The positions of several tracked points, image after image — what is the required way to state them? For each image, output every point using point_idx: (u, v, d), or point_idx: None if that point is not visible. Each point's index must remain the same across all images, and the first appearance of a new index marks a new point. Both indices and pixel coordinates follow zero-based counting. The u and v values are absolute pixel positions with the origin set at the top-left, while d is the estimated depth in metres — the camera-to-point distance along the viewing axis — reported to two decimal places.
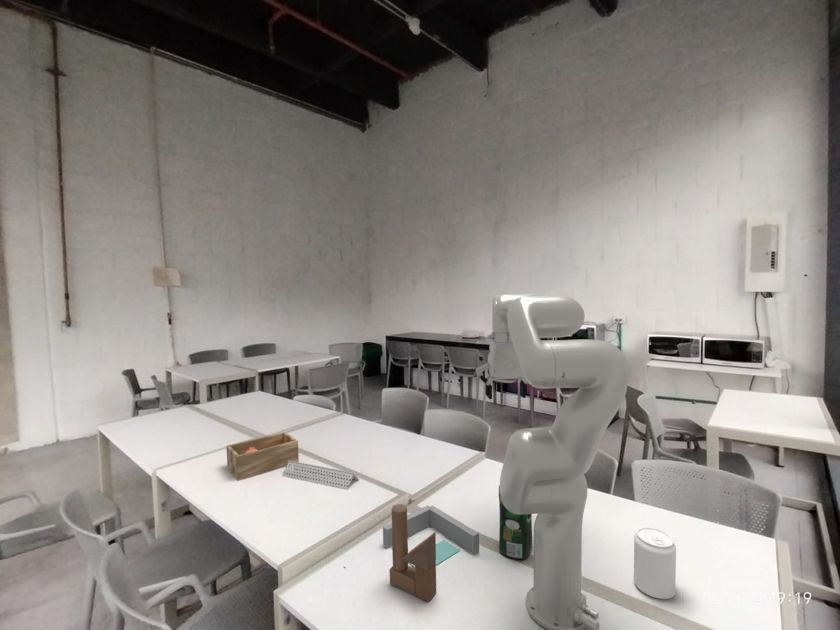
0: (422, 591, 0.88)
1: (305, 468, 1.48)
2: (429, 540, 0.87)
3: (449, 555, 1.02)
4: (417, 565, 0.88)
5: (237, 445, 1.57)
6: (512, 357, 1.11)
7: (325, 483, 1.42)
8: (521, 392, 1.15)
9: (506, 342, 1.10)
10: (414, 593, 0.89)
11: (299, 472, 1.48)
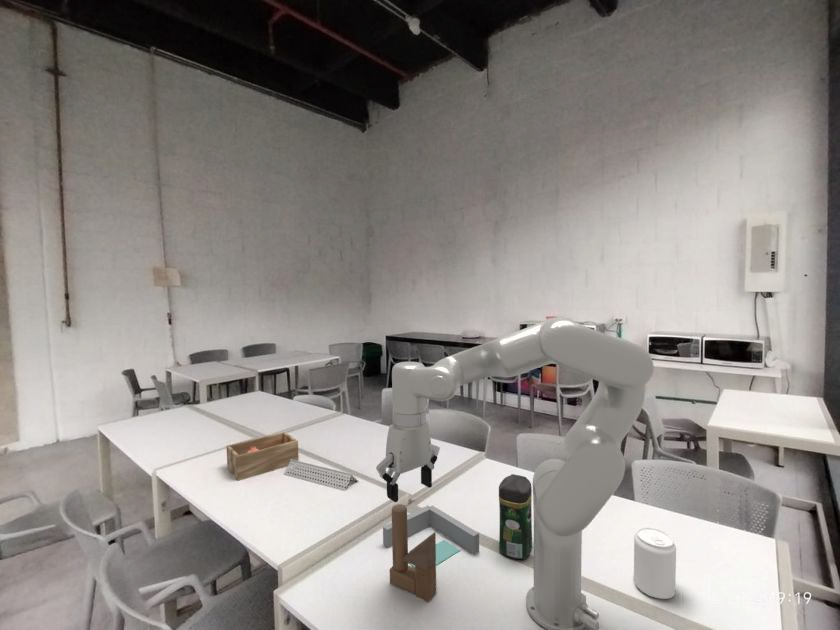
0: (422, 591, 0.88)
1: (306, 467, 1.49)
2: (429, 540, 0.87)
3: (449, 555, 1.02)
4: (417, 565, 0.88)
5: (237, 445, 1.57)
6: None
7: (324, 483, 1.41)
8: None
9: None
10: (414, 593, 0.89)
11: (300, 471, 1.48)
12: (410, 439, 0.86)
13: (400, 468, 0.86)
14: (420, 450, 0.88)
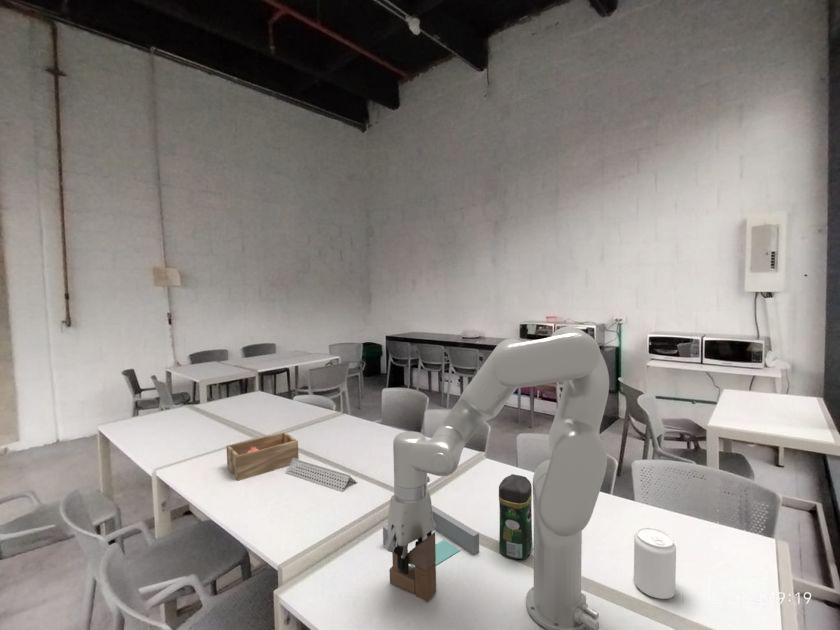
0: (422, 591, 0.88)
1: None
2: (429, 540, 0.87)
3: (449, 555, 1.02)
4: (417, 565, 0.88)
5: (237, 445, 1.57)
6: None
7: (322, 484, 1.41)
8: None
9: None
10: (414, 593, 0.89)
11: (300, 471, 1.49)
12: (412, 512, 0.87)
13: (402, 541, 0.86)
14: (421, 521, 0.89)
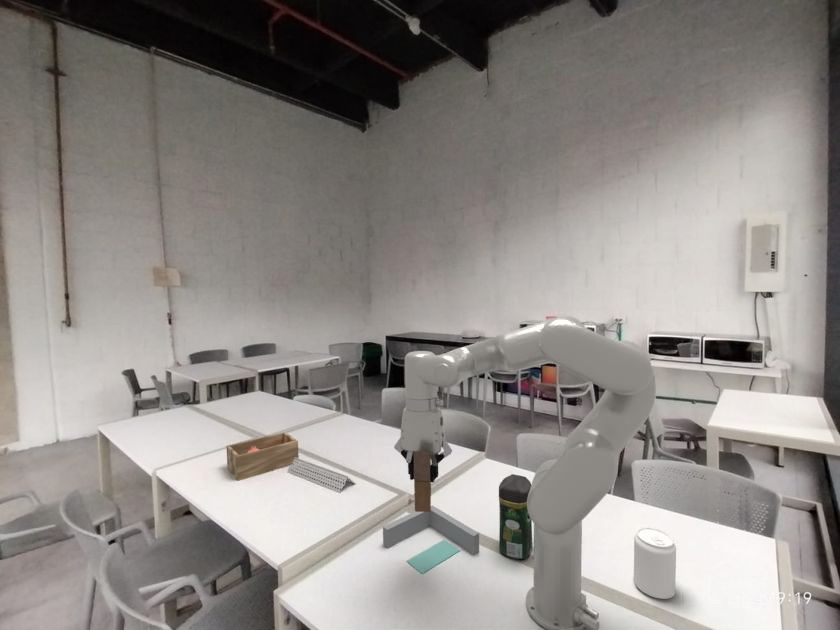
0: None
1: None
2: (417, 453, 0.90)
3: (449, 555, 1.02)
4: None
5: (237, 445, 1.57)
6: None
7: (321, 484, 1.41)
8: None
9: None
10: None
11: (301, 470, 1.49)
12: (411, 422, 0.93)
13: (403, 445, 0.95)
14: (423, 436, 0.93)
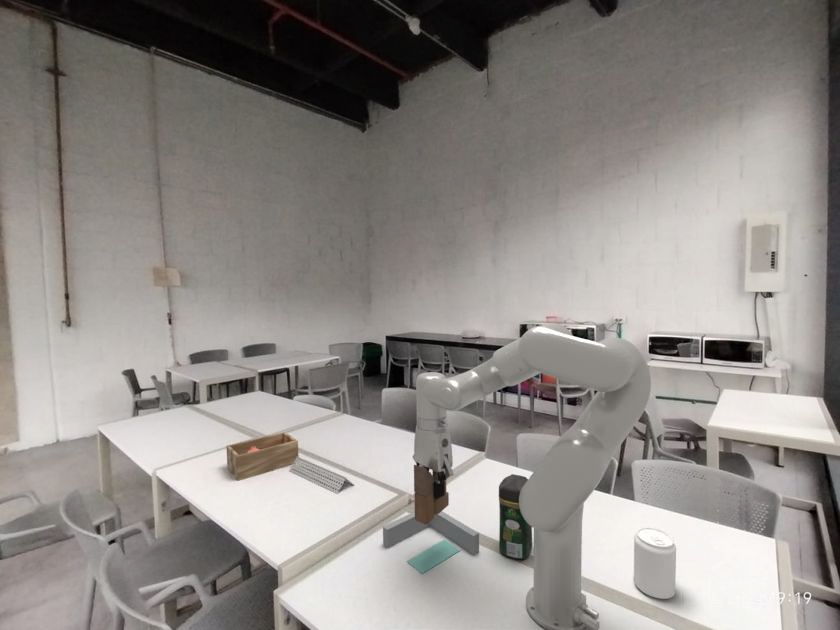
0: None
1: (308, 466, 1.50)
2: (416, 467, 0.97)
3: (449, 555, 1.02)
4: None
5: (237, 445, 1.57)
6: None
7: (320, 484, 1.41)
8: None
9: None
10: None
11: (302, 469, 1.50)
12: (420, 437, 1.00)
13: (415, 456, 1.03)
14: (427, 453, 0.98)
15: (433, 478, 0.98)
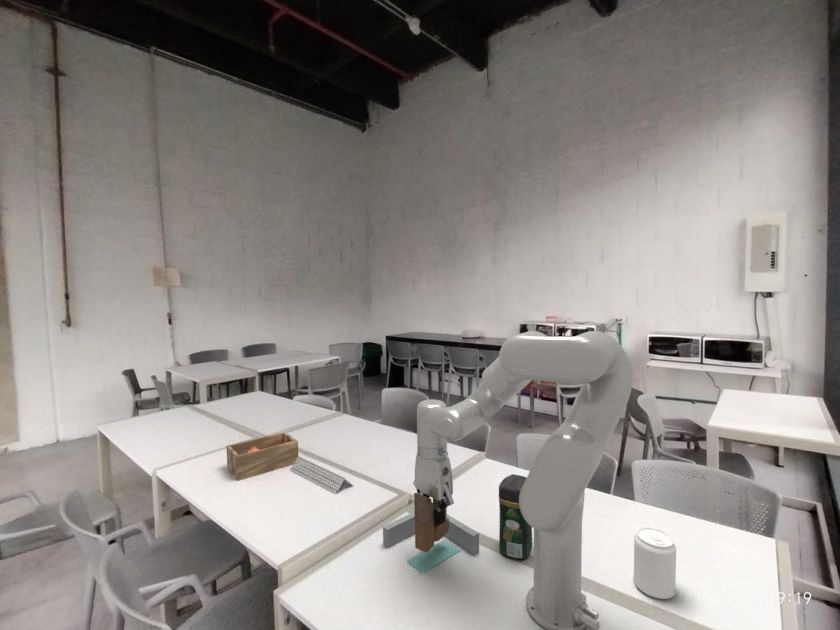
0: None
1: (308, 466, 1.50)
2: (417, 495, 0.98)
3: (449, 555, 1.02)
4: None
5: (237, 445, 1.57)
6: None
7: (319, 484, 1.41)
8: None
9: None
10: None
11: (303, 469, 1.50)
12: (420, 465, 1.01)
13: (415, 483, 1.03)
14: (427, 481, 0.99)
15: (433, 506, 0.99)
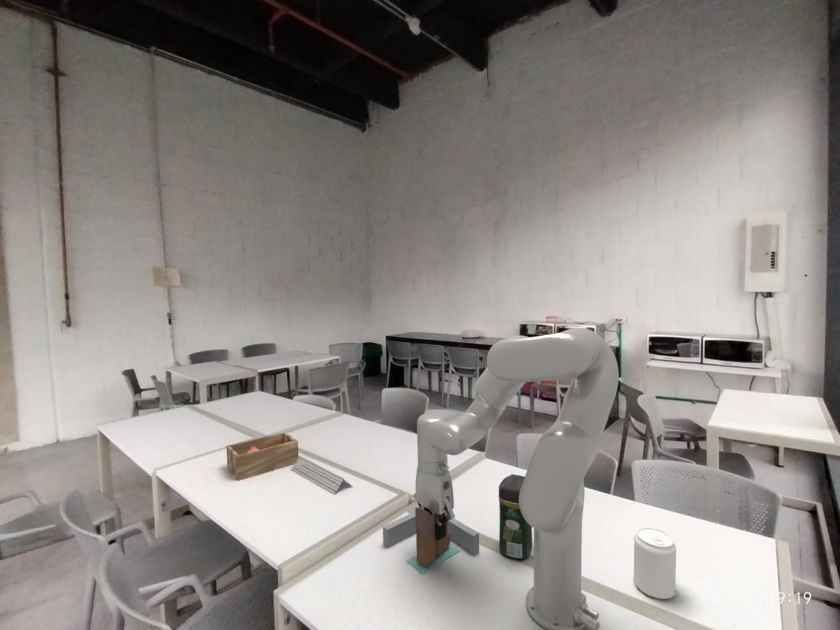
0: None
1: (309, 466, 1.50)
2: (418, 510, 0.98)
3: (449, 555, 1.02)
4: None
5: (237, 445, 1.57)
6: None
7: (319, 484, 1.41)
8: None
9: None
10: None
11: (303, 469, 1.50)
12: (421, 479, 1.01)
13: (416, 497, 1.03)
14: (428, 495, 0.99)
15: (434, 520, 0.99)
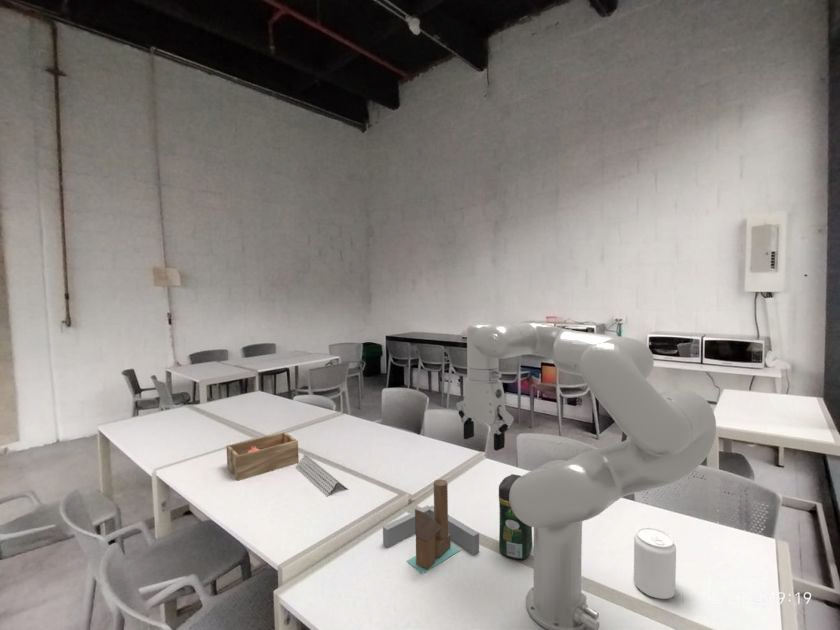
0: None
1: (311, 465, 1.51)
2: (417, 512, 0.98)
3: (449, 555, 1.02)
4: None
5: (237, 445, 1.57)
6: None
7: (316, 484, 1.41)
8: (470, 433, 1.02)
9: None
10: None
11: (306, 467, 1.52)
12: (471, 390, 0.97)
13: (464, 411, 1.00)
14: (479, 405, 0.95)
15: (434, 523, 0.99)
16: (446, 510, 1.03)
